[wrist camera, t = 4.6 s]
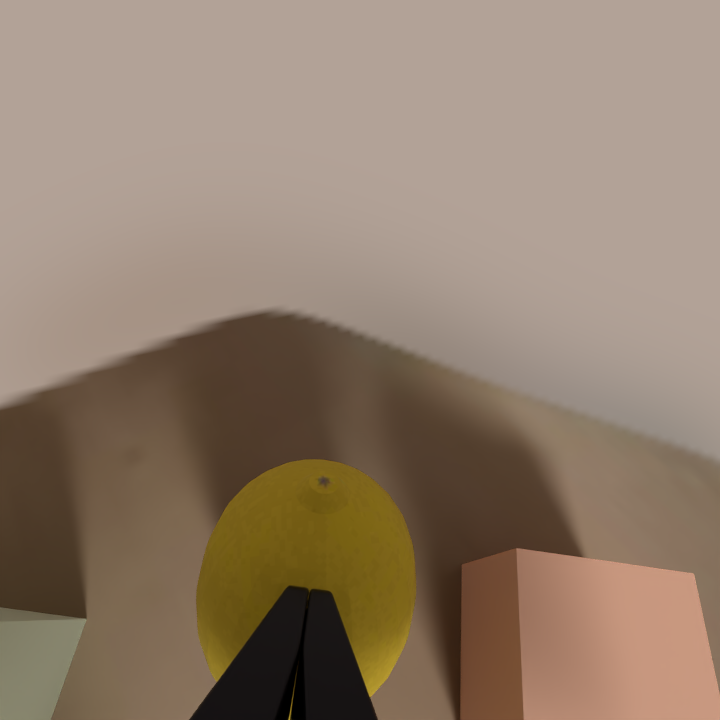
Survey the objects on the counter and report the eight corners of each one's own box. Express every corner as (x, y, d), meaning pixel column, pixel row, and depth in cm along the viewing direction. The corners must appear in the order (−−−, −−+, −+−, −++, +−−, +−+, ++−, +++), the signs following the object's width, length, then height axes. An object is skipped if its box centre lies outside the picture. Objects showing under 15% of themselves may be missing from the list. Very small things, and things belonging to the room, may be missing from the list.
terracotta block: (613, 757, 15) (745, 819, 10) (458, 737, 14) (526, 791, 10) (593, 583, 17) (694, 573, 13) (461, 564, 17) (516, 547, 13)
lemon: (191, 608, 15) (178, 417, 11) (347, 564, 17) (384, 392, 13) (215, 826, 11) (209, 649, 7) (417, 731, 13) (503, 555, 9)
